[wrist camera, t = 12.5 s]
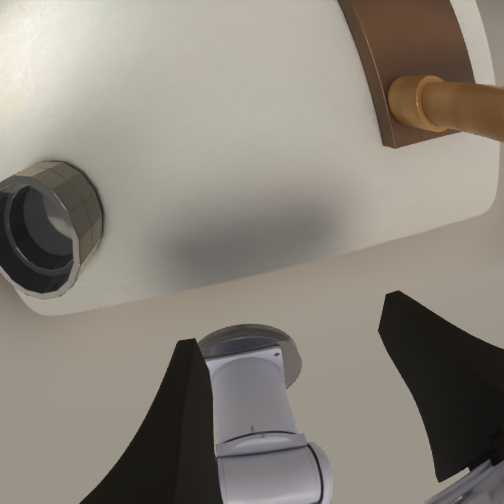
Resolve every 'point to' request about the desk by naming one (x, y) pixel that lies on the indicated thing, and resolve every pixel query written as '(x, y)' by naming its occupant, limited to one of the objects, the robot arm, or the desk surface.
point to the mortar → (47, 228)
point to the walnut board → (406, 53)
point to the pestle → (448, 105)
